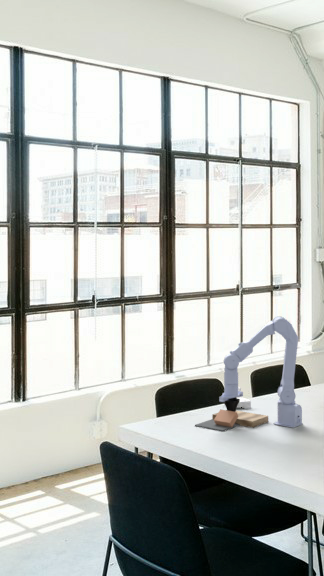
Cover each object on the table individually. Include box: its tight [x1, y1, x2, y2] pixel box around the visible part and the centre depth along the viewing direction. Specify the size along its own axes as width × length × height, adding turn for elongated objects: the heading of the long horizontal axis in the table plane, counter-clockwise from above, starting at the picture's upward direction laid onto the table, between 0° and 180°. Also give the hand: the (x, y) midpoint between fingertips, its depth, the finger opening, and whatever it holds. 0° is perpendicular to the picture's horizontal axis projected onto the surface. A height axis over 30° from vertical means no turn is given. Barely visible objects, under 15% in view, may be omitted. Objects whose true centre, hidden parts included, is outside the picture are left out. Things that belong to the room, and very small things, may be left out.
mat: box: [194, 419, 241, 432], centre depth 277 cm, size 14×12×1 cm
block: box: [214, 409, 239, 427], centre depth 276 cm, size 8×6×2 cm
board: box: [211, 410, 269, 428], centre depth 284 cm, size 20×12×2 cm, turn 50°
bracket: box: [236, 386, 252, 409], centre depth 313 cm, size 13×7×8 cm, turn 19°
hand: (231, 416), depth 279 cm, fingers closed
